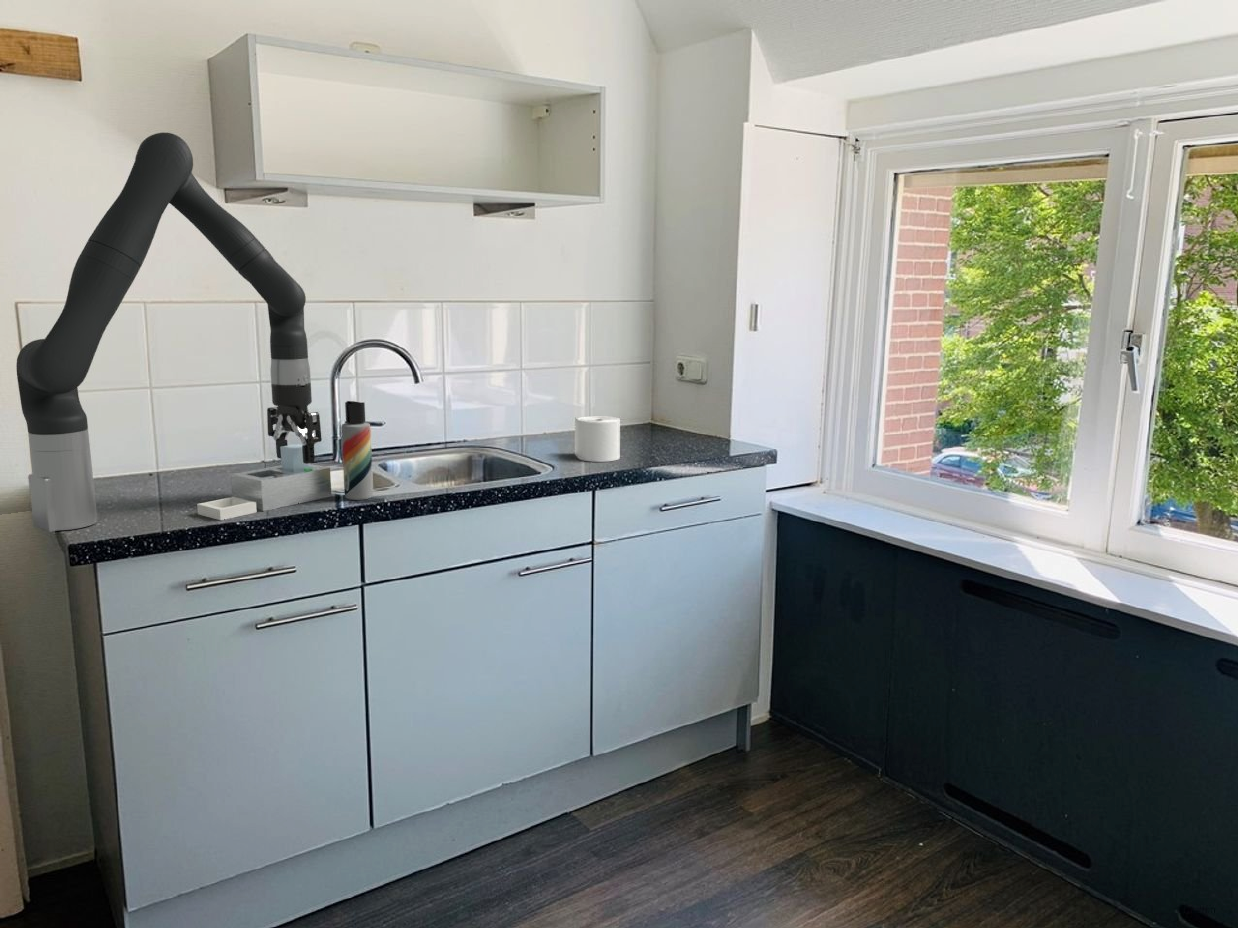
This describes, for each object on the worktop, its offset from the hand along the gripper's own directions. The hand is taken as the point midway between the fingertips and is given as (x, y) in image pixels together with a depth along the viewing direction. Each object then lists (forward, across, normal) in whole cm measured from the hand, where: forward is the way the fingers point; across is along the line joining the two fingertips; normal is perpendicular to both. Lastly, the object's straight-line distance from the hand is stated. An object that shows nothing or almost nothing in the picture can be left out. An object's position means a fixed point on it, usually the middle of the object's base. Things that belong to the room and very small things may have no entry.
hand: (295, 460), depth 193 cm
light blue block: (+6, 0, 0) cm, 6 cm away
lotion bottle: (+8, +10, +8) cm, 15 cm away
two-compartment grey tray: (+8, 0, -4) cm, 8 cm away
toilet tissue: (+8, +23, +72) cm, 76 cm away
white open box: (+8, +1, -16) cm, 18 cm away
